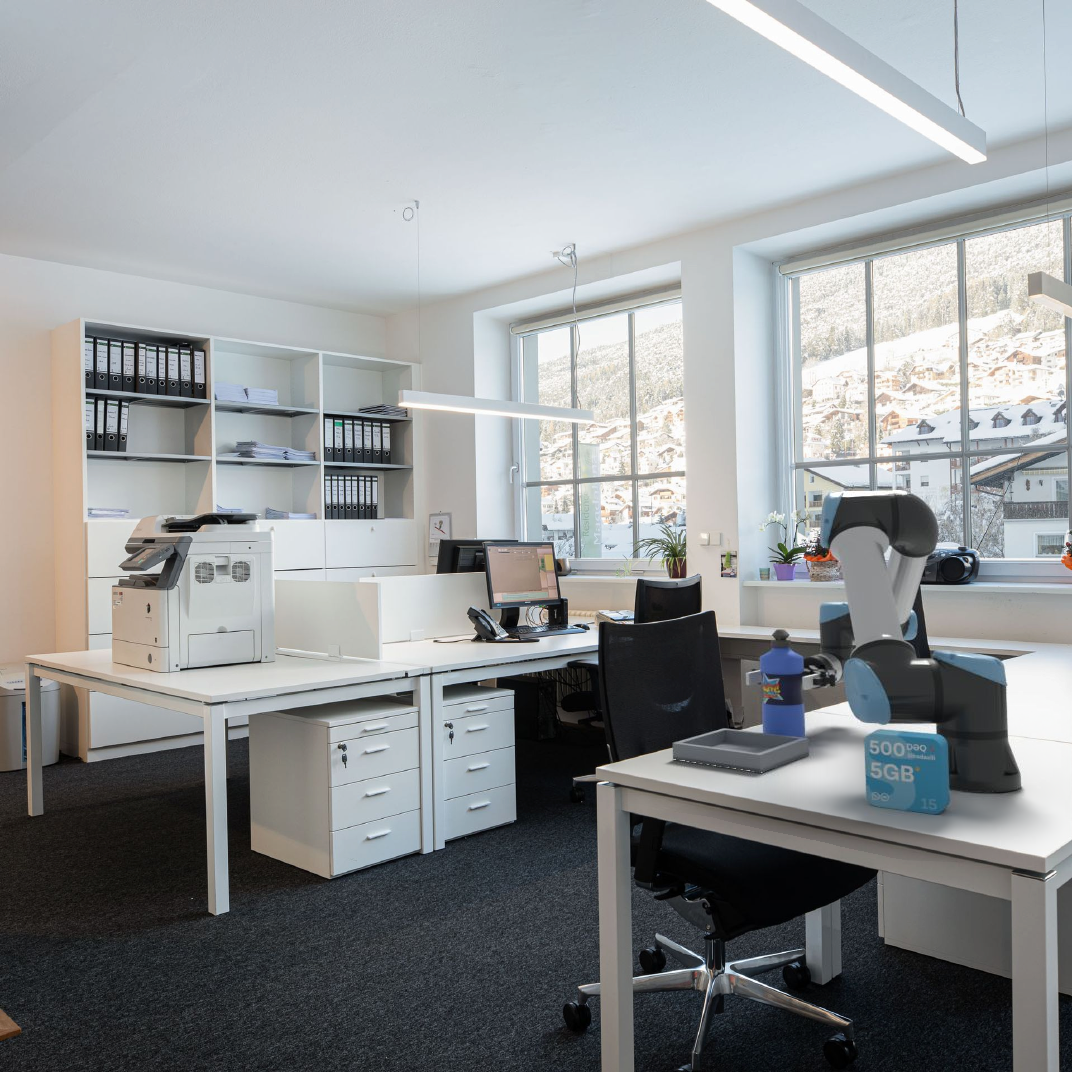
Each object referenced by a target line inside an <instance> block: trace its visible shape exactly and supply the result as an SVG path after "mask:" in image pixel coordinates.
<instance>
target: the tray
mask: <svg viewBox="0 0 1072 1072" xmlns="http://www.w3.org/2000/svg"><path fill="white" fill-rule="evenodd" d="M809 741H810V740H809V738H808V737H805V738H801V737H793V736H784V735H776V734H767V733H763V732H757V731H752V730H751V731H748V730H741V729H734V728H733V729H731V728H724V727H723V728H720V729H718V730H713V731H710V732H706V733H703V734H700V735H696V736H692V737H688V738H686V739H682V740H679V741H674V742H672V760H673V759H676V760H685V761H689V762H696V763H702V764H709V765H716V766H721V767H729V768H736V769H743V770H750V771H754V772H760V773H759V774H762V773H761V772H764V773H765V771H766V772H768V771H767V770H769V771H771V770H770V769H772V770H774V769H777V768H779V766H780V767H782V766H785V765H787V764H789V763H792V762H795V761H797V760H800V759H803V758H806V757H808V756H810V749H809V748H810V746H809ZM784 764H785V765H784ZM781 765H782V766H781ZM721 767H720V768H721ZM776 767H777V768H776ZM773 768H774V769H773ZM754 772H753V773H754Z"/></svg>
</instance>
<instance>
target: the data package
mask: <svg viewBox="0 0 1072 1072" xmlns="http://www.w3.org/2000/svg"><path fill="white" fill-rule="evenodd" d="M863 744H864V765H865V766H864V769H865V771H864V772H865V773H864V774H865V796H866V800H867V802H868V803H869V804H870V805H871V806H873V807H877V808H882V807H883V809H889V808H891V810H898V811H905V812H912V813H921V814H928V815H938V814H941V812H943V811H944V810H945V809H946V808H947V806H949V805H950V800H951V799H950V796H951V795H950V789H949V767H948V744H947V741H946V739H945V738H944V737H943V736H941V735H939V734H936V733H930V732H918V731H908V730H907V731H905V730H897V729H896V730H894V729H883V728H879V729H876V730H874V731H872V732H870V733H869V734H867V735H866V736H865V738H864V741H863Z"/></svg>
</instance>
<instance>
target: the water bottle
mask: <svg viewBox="0 0 1072 1072" xmlns="http://www.w3.org/2000/svg"><path fill="white" fill-rule="evenodd" d="M771 636H772V637H773V639H770V648H771V647H772V648H771V649H770V651H768V652H766V653H764V654H763V655H761V656H759V669H760V671H761V675H762V688H763V692H762V701H761V711H762V712H761V713H762V714H761V715H762V733H767V734H776V735H784V736H793V737H801V738H806V720H805V719H806V718H805V702H804V696H803V684H802V677H803V672H804V661H803V659H804V656H803V655H800V654H799V653H797V652H795V651H793V650H792V649H791V647H792V640H791V639H789V637H790V634H789V632H788V631H787V630H786V629H775V631H774V632H772V634H771Z"/></svg>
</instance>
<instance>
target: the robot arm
mask: <svg viewBox="0 0 1072 1072" xmlns="http://www.w3.org/2000/svg"><path fill="white" fill-rule="evenodd" d="M819 531H820V532H819V543H820V546H821V547H822V548H825V549H830V554H831V556H832V557H833V558H835V560H836V561H838V562H840V569H841V571H842V572H841V573H842V577H843V583H844V588H845V593H846V598H847V601H846V602H845V601H841V602H839V601H831V602H830V601H829V602H828V601H827V602H826V601H825V602H823V603H821V604H820V605H819V620H818V622H819V641H820V647H819V648H820V653H819V654H814V655H811V656H807V657H803V661H804V672H803V677H802V691H807V690H810V689H811V690H812V689H813V690H816V689H820V688H823V689H827V688H828V686H829V687H833V688H835V687H836V686H837V685H836V684H839V683H844V687H845V688H844V691H845V695H846V698H847V703H848V706H849V708H850V710H851V712H852V714H853V716H854V717H855V718H856V719H857V720H858V721H860V722H861V723H865V724H877V725H878V724H879V725H881V726H885V725H886V726H887V724H888V725H891V724H892V725H893V724H896V725H900V724H902V725H906V724H907V725H909V724H910V725H913V724H914V725H915V724H916V725H919V724H920V725H921V724H923V725H924V724H925V725H927V724H928V725H929V724H931V725H933V724H935V727H936V728H935V731H936V733H935V734H939V735H941V736H943V737H944V738H945V739H946V741H947V744H948V767H949V790H954V791H962V792H971V793H1004V792H1005V793H1006V792H1007V793H1008V792H1013V791H1015V790H1016V791H1017V790H1019V789H1020V788H1021V787H1022V775H1021V771H1020V767H1019V766H1018V763H1017V761H1016V758H1015V756H1014V753H1013V750H1012V748H1011V745H1010V742H1009V725H1008V723H1009V722H1008V702H1007V700H1008V699H1007V687H1008V682H1007V677H1006V669H1005V668H1006V667H1005V664H1004V663H1003V661H1002V660H1001V659H999V658H998V657H994V656H990V655H985V654H981V653H974V652H965V651H959V650H949V649H948V650H947V649H935V650H934V651H933V653H932V654H931V655H932V658H929V657H928V658H926V657H925V658H923V657H922V658H917V653H916V650H915V648H914V646H913V645H912V644H911V643H909V642H908V641H911V640H914V639H915V638H916V636H917V634H918V618H917V614H916V612H915V610H913V607H914V604H915V600H916V597H917V593H918V590H919V587H920V583H921V580H922V576H923V573H924V571H925V567H926V563H927V560H928V557H929V556H931V555H932V554H933V553H934V552H935V550H936V548H937V545H938V541H939V535H940V534H939V533H940V530H939V523H938V520H937V517H936V515H935V513H934V512H933V510H932V509H931V507H930V506H929V505H928V504H927V503H926V501H925V500H923V499H922V498H921V497H919V496H918V495H916V494H914V493H911V492H910V491H906V490H899V489H891V490H872V491H871V490H870V491H869V490H867V491H866V490H865V491H863V490H862V491H845V490H843V491H841V492H840V491H839V492H831V493H827V494H826V495H825V497H824V498H823V501H822V506H821V517H820V530H819ZM889 547H891V550H890V554H889V558H888V562H886V556H885V553H887V551H888V549H889ZM853 642H854V643H855V648H854V645H853ZM745 684H746V686H753V685H756V684H757V685H761V684H763V682H762V675H761V671H760V668H751V671H750V672H745Z"/></svg>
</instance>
